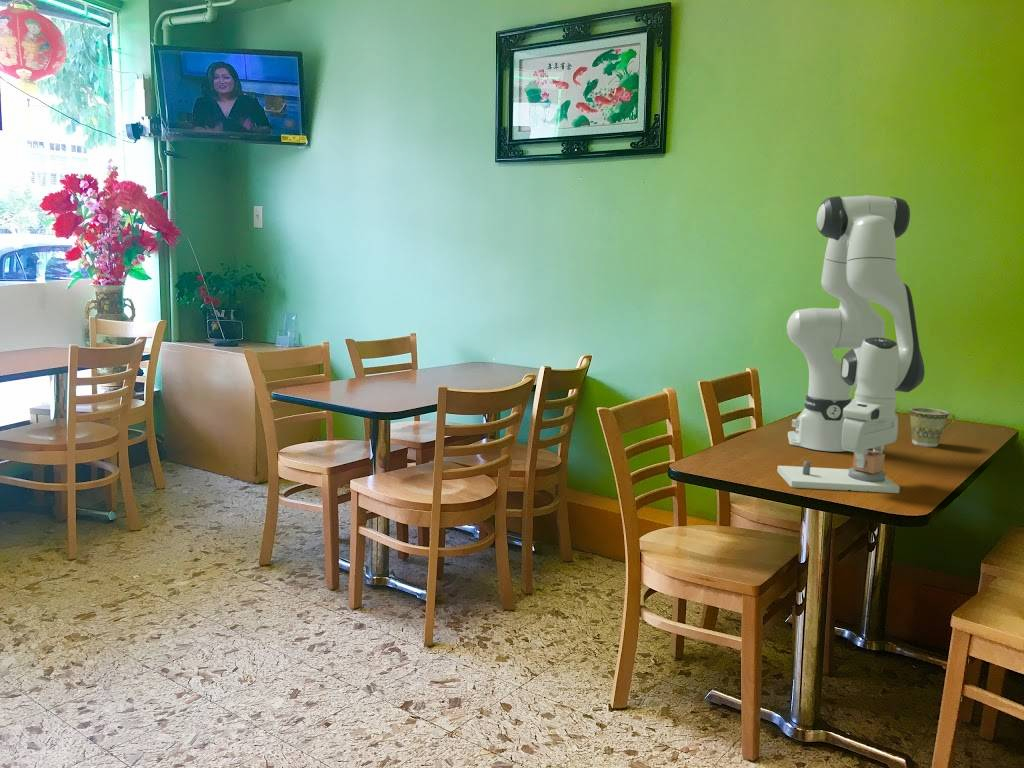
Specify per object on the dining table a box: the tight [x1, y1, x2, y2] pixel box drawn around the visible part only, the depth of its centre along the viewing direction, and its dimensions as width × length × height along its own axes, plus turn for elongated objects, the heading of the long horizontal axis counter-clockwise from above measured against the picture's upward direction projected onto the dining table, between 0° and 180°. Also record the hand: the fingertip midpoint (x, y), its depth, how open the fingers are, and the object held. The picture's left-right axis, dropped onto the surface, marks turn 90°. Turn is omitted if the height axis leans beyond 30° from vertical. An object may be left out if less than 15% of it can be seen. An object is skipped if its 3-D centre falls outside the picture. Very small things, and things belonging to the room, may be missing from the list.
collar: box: [852, 449, 886, 474], centre depth 192 cm, size 5×5×4 cm
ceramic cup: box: [909, 407, 956, 448], centre depth 236 cm, size 13×10×10 cm
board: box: [776, 450, 901, 494], centre depth 193 cm, size 14×24×8 cm, turn 85°
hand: (867, 465), depth 192 cm, fingers closed on collar, 5 cm apart
